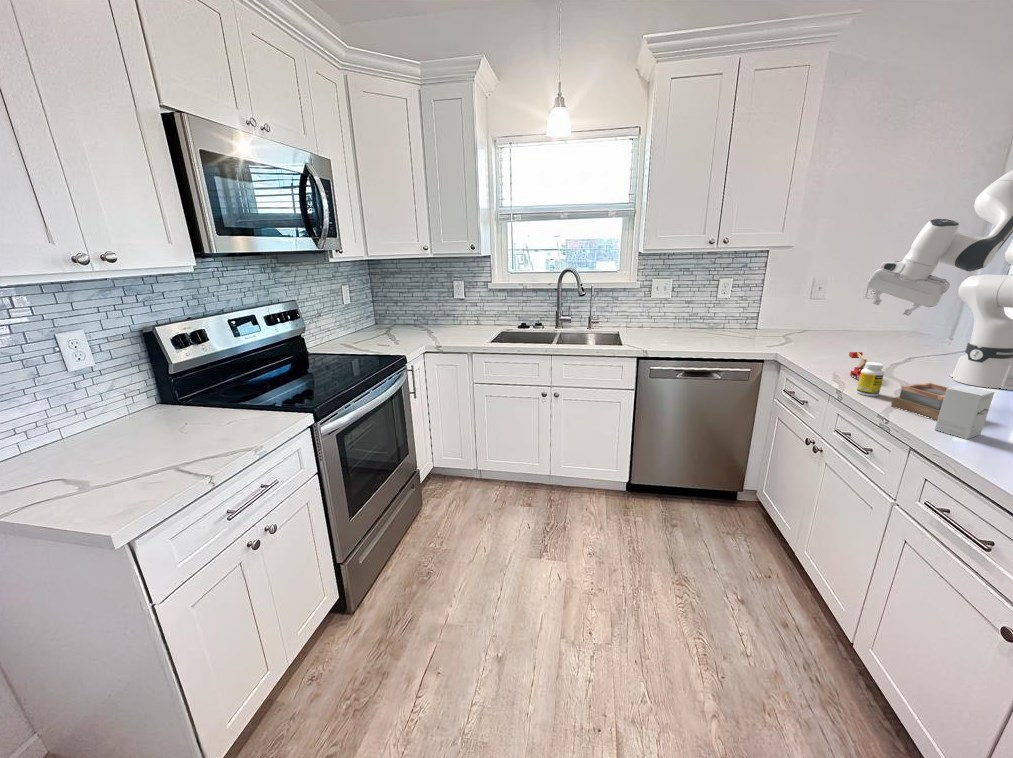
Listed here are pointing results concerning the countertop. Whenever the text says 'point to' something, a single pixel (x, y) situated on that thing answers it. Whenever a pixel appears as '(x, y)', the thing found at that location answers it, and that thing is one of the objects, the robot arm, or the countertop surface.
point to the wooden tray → (921, 399)
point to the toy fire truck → (856, 371)
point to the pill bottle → (870, 379)
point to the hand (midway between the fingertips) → (890, 309)
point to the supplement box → (964, 411)
